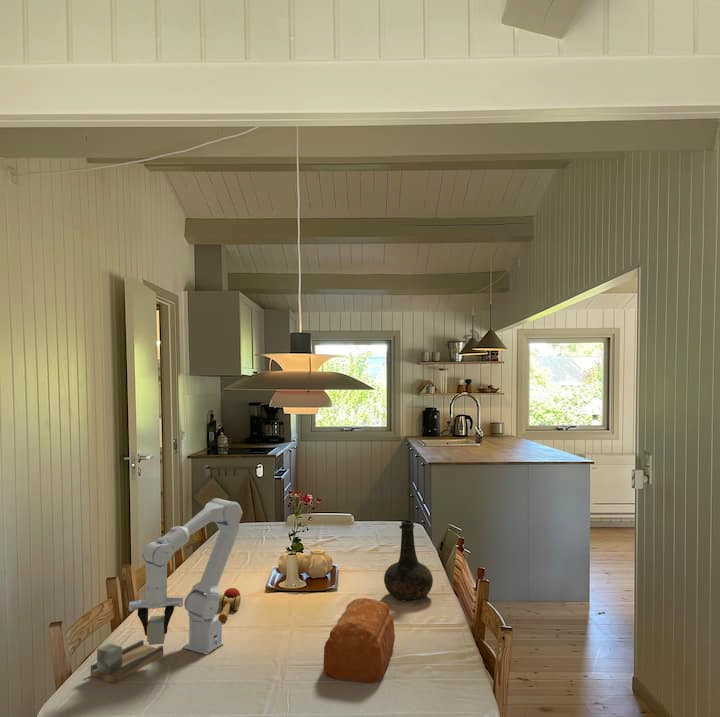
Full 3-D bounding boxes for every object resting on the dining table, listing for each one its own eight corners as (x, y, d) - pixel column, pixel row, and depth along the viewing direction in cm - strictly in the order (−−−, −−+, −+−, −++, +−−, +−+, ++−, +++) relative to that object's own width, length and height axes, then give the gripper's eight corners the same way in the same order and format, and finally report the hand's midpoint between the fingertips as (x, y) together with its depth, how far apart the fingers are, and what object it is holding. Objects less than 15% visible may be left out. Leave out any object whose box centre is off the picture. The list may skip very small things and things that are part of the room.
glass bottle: (436, 591, 234) (436, 517, 234) (427, 609, 217) (427, 529, 217) (391, 586, 239) (391, 513, 240) (378, 603, 222) (378, 525, 223)
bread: (320, 678, 170) (320, 623, 170) (342, 639, 193) (342, 591, 193) (381, 685, 166) (381, 630, 166) (396, 645, 190) (396, 596, 190)
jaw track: (163, 655, 182) (163, 629, 182) (113, 683, 166) (113, 655, 166) (141, 648, 186) (141, 623, 186) (90, 675, 170) (90, 648, 170)
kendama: (237, 626, 206) (245, 598, 224) (233, 608, 205) (242, 582, 223) (214, 630, 206) (224, 602, 224) (210, 612, 205) (221, 585, 223)
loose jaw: (163, 643, 174) (163, 622, 174) (146, 645, 174) (146, 623, 174) (165, 635, 179) (165, 615, 179) (148, 637, 178) (149, 616, 178)
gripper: (127, 592, 171) (127, 641, 171) (181, 588, 174) (181, 637, 174) (131, 583, 178) (130, 631, 178) (183, 580, 181) (183, 626, 181)
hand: (156, 633), depth 177 cm, fingers closed on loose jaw, 4 cm apart
